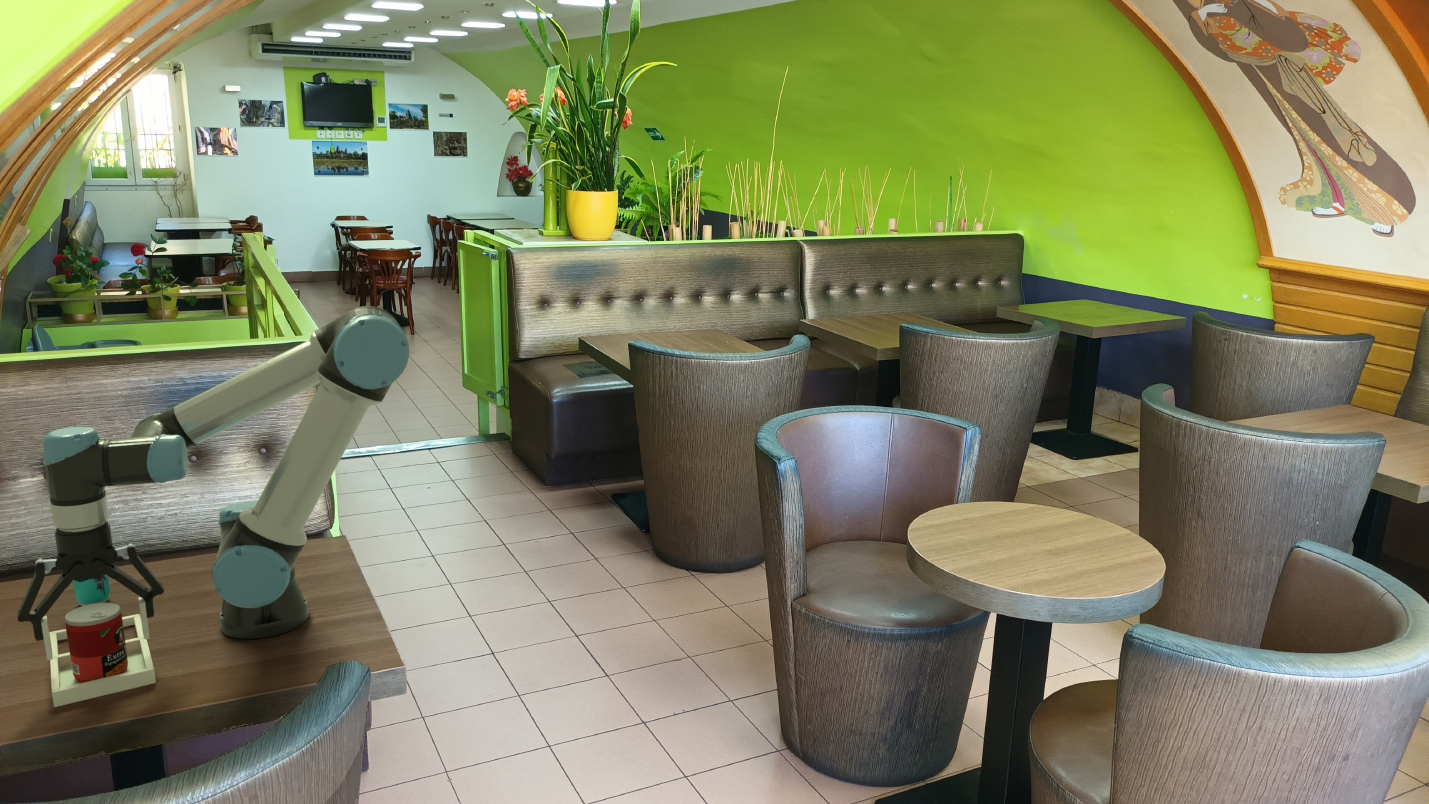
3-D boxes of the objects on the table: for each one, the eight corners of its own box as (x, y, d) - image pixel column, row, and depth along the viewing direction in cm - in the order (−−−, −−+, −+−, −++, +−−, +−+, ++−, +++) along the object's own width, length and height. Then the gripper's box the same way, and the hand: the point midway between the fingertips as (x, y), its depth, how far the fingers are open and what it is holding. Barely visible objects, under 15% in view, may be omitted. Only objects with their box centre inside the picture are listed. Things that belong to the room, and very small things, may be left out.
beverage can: (94, 609, 189) (84, 535, 186) (69, 606, 190) (58, 533, 187) (118, 597, 195) (108, 525, 191) (93, 594, 196) (83, 522, 192)
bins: (155, 682, 163) (154, 668, 162) (54, 707, 155) (51, 692, 155) (140, 621, 185) (138, 608, 184) (50, 639, 177) (48, 627, 176)
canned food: (114, 684, 161) (105, 622, 158) (63, 685, 160) (53, 622, 158) (138, 661, 168) (130, 601, 166) (89, 662, 168) (80, 602, 165)
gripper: (167, 503, 168) (181, 619, 173) (-14, 531, 155) (7, 656, 160) (172, 516, 162) (186, 636, 167) (-15, 546, 149) (6, 675, 154)
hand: (99, 646), depth 163 cm, fingers open, 13 cm apart
